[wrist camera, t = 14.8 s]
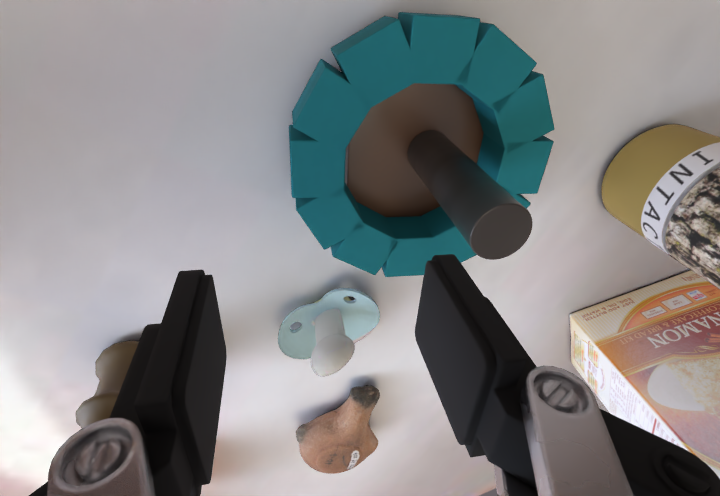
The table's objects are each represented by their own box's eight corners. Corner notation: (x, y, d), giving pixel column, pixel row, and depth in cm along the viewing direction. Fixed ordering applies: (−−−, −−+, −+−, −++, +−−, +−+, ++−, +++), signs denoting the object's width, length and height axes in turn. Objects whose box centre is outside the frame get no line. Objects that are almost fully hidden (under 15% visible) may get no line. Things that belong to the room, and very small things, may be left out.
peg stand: (342, 213, 25) (373, 331, 16) (347, 56, 20) (394, 105, 12) (476, 209, 26) (571, 316, 18) (510, 61, 22) (663, 108, 13)
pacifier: (392, 316, 31) (357, 265, 27) (415, 384, 26) (375, 331, 22) (311, 357, 32) (267, 312, 28) (318, 430, 27) (265, 386, 23)
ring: (294, 256, 24) (295, 282, 22) (284, 5, 17) (283, 7, 15) (494, 248, 27) (513, 270, 24) (557, 21, 20) (591, 24, 17)
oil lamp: (397, 411, 39) (364, 363, 34) (413, 447, 35) (379, 400, 31) (317, 456, 38) (274, 414, 34) (325, 498, 35) (278, 457, 31)
